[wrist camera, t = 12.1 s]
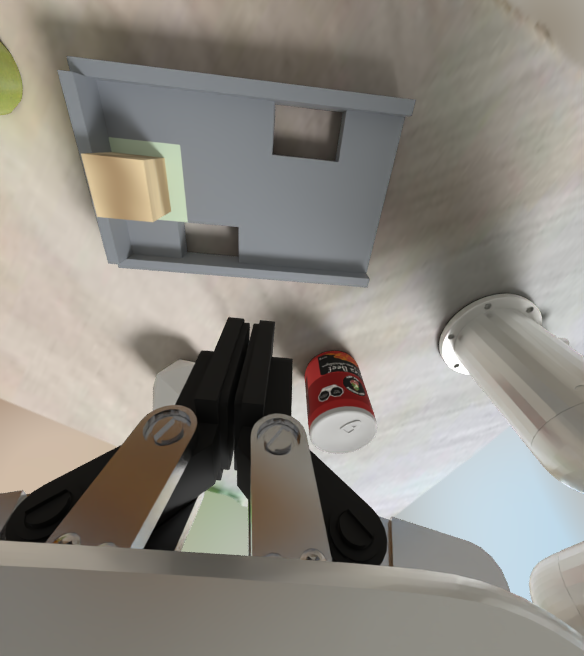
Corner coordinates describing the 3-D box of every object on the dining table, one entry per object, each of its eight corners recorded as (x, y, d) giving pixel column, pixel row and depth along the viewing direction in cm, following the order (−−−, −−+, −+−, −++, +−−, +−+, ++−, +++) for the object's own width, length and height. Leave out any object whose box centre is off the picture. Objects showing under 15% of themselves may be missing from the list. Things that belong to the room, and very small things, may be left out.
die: (226, 391, 45) (233, 406, 36) (175, 424, 42) (168, 449, 33) (198, 347, 44) (197, 350, 34) (144, 378, 41) (128, 391, 32)
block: (164, 157, 25) (143, 160, 22) (171, 211, 28) (152, 222, 24) (111, 152, 25) (80, 153, 21) (123, 206, 27) (97, 216, 24)
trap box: (400, 105, 25) (423, 97, 21) (360, 274, 34) (370, 293, 30) (93, 67, 23) (52, 50, 19) (133, 256, 32) (110, 273, 28)
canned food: (368, 360, 41) (392, 423, 32) (338, 395, 45) (351, 461, 35) (322, 340, 39) (333, 402, 30) (295, 379, 43) (297, 444, 33)
